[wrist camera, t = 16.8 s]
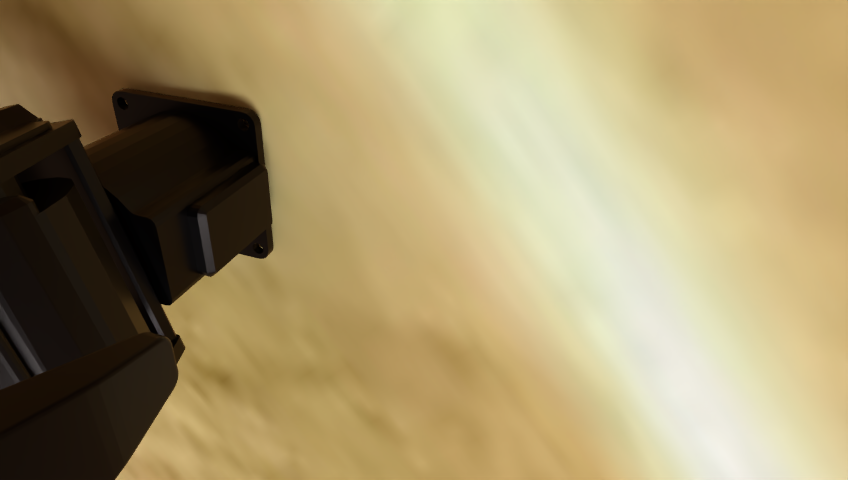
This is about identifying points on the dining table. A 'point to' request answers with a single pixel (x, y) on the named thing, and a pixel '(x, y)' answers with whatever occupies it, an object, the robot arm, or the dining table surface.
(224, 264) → the robot arm
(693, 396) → the dining table surface
